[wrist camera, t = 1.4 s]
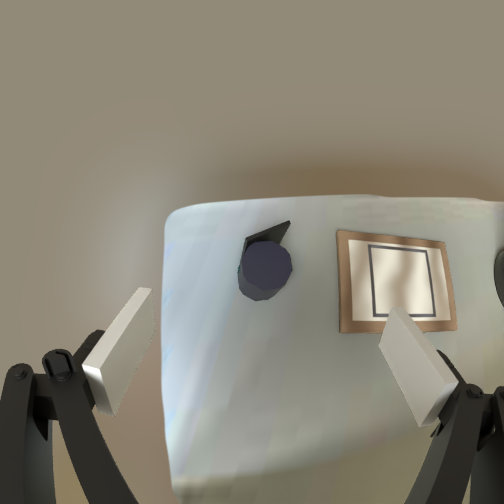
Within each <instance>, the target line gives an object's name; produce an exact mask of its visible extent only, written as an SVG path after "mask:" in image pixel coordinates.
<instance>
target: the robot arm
mask: <svg viewBox="0 0 504 504" xmlns="http://www.w3.org/2000/svg"><path fill="white" fill-rule="evenodd" d="M494 275H495V283H496V288H497V292H498V295H499V298H500V300H501V302H502V304H503V306H504V250H503V251H502V252H501V253H500V254H499V255H498V256H497V259H496V262H495V269H494ZM155 332H156V330H155V318H154V305H153V291H152V289H149V288H141V287H139V288H138V289H137V291H136V292H135V293H134V295H133V296H132V297H131V298H130V300H129V301H128V302H127V304H126V305H125V306H124V308H123V309H122V310H121V312H120V313H119V314H118V316H117V317H116V318H115V319H114V321H113V322H112V324H111V325H110V326H109V328H108V329H107V330H106V331H103V330H96V331H95V332H93V333H91V334H90V335H89V336H88V337H87V338H86V340H85V341H84V343H83V344H82V345H81V347H80V348H79V349H78V350H77V352H76V353H75V354H74V355H73V356H72V355H71V353H70V352H69V351H67V350H64V349H55V350H52V351H49V352H48V353H46V354H45V355H44V357H43V358H42V364H43V367H44V370H45V372H46V374H35V373H34V372H33V369H32V368H31V366H29V365H28V364H24V363H21V364H16V365H14V366H12V367H11V368H10V369H9V370H8V372H7V374H6V378H5V382H4V386H3V391H2V395H1V400H0V504H56V499H55V488H54V476H53V456H52V420H58V421H59V425H60V428H61V431H62V434H63V438H64V441H65V444H66V447H67V450H68V453H69V456H70V458H71V461H72V464H73V467H74V469H75V472H76V474H77V477H78V479H79V482H80V484H81V486H82V488H83V491H84V493H85V495H86V498H87V500H88V502H89V504H139V503H138V502H137V500H136V498H135V497H134V495H133V493H132V492H131V490H130V489H129V487H128V485H127V483H126V481H125V480H124V478H123V476H122V474H121V472H120V471H119V469H118V467H117V465H116V463H115V461H114V459H113V457H112V455H111V453H110V451H109V449H108V447H107V445H106V443H105V440H104V438H103V436H102V434H101V432H100V429H99V427H98V425H97V422H96V420H95V417H94V415H93V413H92V409H93V407H94V405H95V404H96V407H97V409H98V412H99V413H103V414H106V415H110V416H115V415H116V412H117V410H118V408H119V406H120V404H121V401H122V399H123V397H124V395H125V393H126V391H127V389H128V387H129V385H130V383H131V380H132V378H133V376H134V374H135V372H136V370H137V368H138V366H139V364H140V362H141V360H142V358H143V356H144V354H145V352H146V350H147V348H148V346H149V344H150V342H151V340H152V338H153V336H154V334H155ZM378 347H379V348H380V350H381V352H382V354H383V356H384V358H385V360H386V362H387V364H388V365H389V367H390V369H391V371H392V373H393V375H394V377H395V379H396V381H397V383H398V385H399V387H400V389H401V391H402V393H403V395H404V397H405V399H406V401H407V403H408V405H409V407H410V409H411V411H412V413H413V416H414V418H415V420H416V422H417V424H418V426H419V427H424V426H429V425H432V424H433V423H434V421H435V420H436V418H437V417H439V419H440V421H441V422H440V423H439V425H438V426H437V427H436V429H435V430H434V432H433V433H432V434H431V436H430V437H433V435H434V437H433V440H432V443H431V445H430V448H429V451H428V453H427V456H426V458H425V461H424V463H423V465H422V468H421V470H420V472H419V475H418V477H417V479H416V481H415V483H414V485H413V488H412V490H411V492H410V494H409V496H408V498H407V500H406V502H405V503H404V504H462V501H463V498H464V495H465V491H466V488H467V485H468V481H469V477H470V474H471V489H470V504H504V386H499V387H497V389H496V390H495V392H494V393H493V394H484V393H483V391H482V389H480V388H479V387H478V386H476V385H474V384H466V382H465V381H464V379H463V378H462V377H461V375H460V374H459V372H458V371H457V370H456V368H454V366H453V364H452V363H451V361H450V360H449V359H448V357H447V356H446V355H445V354H443V353H442V352H441V351H440V350H436V349H435V348H434V347H433V345H432V344H431V343H430V341H429V340H428V339H427V337H426V336H425V335H424V334H423V332H422V331H421V330H420V328H419V327H418V326H417V324H416V323H415V322H414V321H413V319H412V318H411V317H410V316H409V314H408V313H407V312H406V311H405V309H404V308H403V307H391V309H390V312H389V316H388V319H387V322H386V325H385V328H384V331H383V334H382V337H381V340H380V343H379V345H378ZM494 429H495V432H494Z"/></svg>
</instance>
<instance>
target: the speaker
mask: <svg viewBox="0 0 504 504" xmlns="http://www.w3.org/2000/svg"><path fill="white" fill-rule="evenodd" d="M290 224H291V223H290V221H286V222H284V223H281V224H279V225H276V226H274V227H271V228H269V229H266V230H264V231H262V232H259V233H257V234H254V235H252V236H249V237H247V238H246V239H245V243H244V248H243V252H242V256H241V261H240V265H239V267H238V273H237V274H238V281H239V289H240V290H241V292H242V293H243V294H244V295H245V296H247V297H249V298H251V299H252V300H254V301H258V300H267V299H269V298H271V297H272V296H274V295H275V294H276V293H277V292H278V291H279V290H280V289H281V288H282V287H283V286H284V285H285V284H286V282H287V280H288V278H289V276H290V274H291V272H292V265H291V258H290V254H289V253H288V252H287V250H286V249H285V248H283V247H282V246H280V245H279V244H280V242H281V240H282V238H283V237H284V235H285V233H286V231H287V229H288V228H289V226H290Z"/></svg>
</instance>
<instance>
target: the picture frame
mask: <svg viewBox="0 0 504 504" xmlns="http://www.w3.org/2000/svg"><path fill="white" fill-rule="evenodd" d="M336 239H337V257H338V279H339V333H383V331H384V328H385V325H386V322H387V319H388V316H389V312H390V309H391V307H403V308H404V309H405V311H406V312H407V313H408V314H409V316H410V317H411V318H412V319H413V321H414V322H415V323H416V324H417V326H418V327H419V328H420V330H421V331H422V332H440V331H454V330H457V319H456V310H455V302H454V294H453V287H452V281H451V275H450V269H449V263H448V258H447V253H446V248H445V243H444V242H437V241H429V240H421V239H413V238H404V237H396V236H387V235H378V234H369V233H360V232H350V231H340V230H338V231H337V233H336Z"/></svg>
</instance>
